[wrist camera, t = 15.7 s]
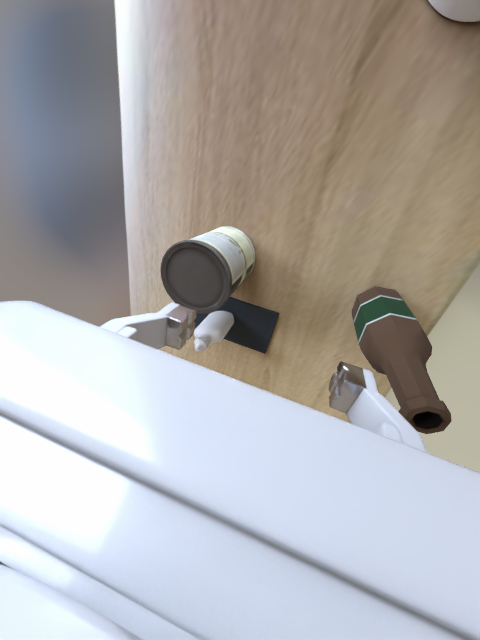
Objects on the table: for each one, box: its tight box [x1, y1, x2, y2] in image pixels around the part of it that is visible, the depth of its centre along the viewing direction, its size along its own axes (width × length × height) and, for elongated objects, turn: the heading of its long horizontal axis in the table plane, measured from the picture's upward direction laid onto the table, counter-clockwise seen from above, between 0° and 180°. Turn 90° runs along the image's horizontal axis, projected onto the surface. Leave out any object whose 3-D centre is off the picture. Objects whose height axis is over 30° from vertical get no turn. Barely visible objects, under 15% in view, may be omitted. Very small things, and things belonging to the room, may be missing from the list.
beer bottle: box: [352, 286, 451, 434], centre depth 31 cm, size 8×8×24 cm
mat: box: [194, 297, 279, 353], centre depth 51 cm, size 10×22×1 cm, turn 77°
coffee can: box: [161, 227, 255, 314], centre depth 38 cm, size 10×10×14 cm
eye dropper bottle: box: [194, 311, 234, 352], centre depth 45 cm, size 4×6×12 cm
